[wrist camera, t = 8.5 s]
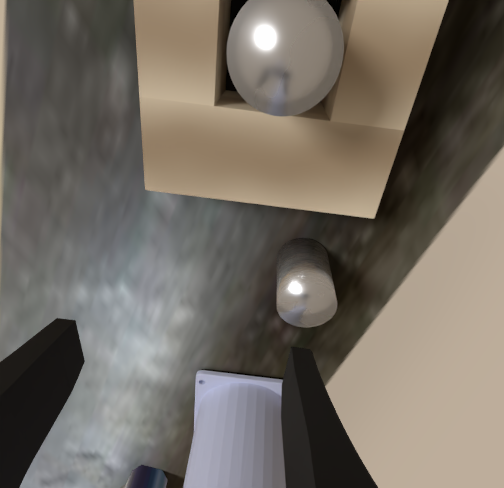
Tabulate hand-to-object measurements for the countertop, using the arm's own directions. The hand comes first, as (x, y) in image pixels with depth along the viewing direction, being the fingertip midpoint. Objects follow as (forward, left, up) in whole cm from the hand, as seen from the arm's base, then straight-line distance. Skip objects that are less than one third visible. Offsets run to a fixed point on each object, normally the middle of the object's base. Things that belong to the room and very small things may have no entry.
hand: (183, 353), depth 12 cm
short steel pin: (-2, -5, -9) cm, 11 cm away
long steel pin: (+9, -2, -9) cm, 13 cm away
